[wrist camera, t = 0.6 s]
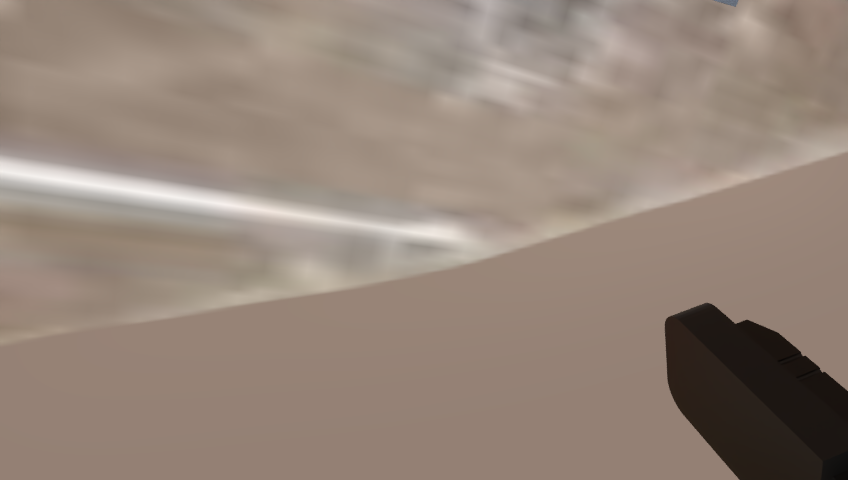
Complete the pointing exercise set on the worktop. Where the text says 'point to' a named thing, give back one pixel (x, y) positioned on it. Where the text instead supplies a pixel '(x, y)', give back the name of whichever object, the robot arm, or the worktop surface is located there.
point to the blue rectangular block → (728, 2)
